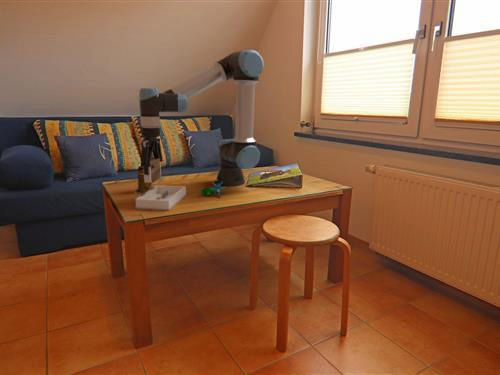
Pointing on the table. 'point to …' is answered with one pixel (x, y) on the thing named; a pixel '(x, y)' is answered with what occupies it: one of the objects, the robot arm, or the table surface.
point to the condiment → (142, 182)
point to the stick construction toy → (211, 190)
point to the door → (154, 170)
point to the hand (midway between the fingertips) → (153, 179)
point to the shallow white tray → (160, 197)
